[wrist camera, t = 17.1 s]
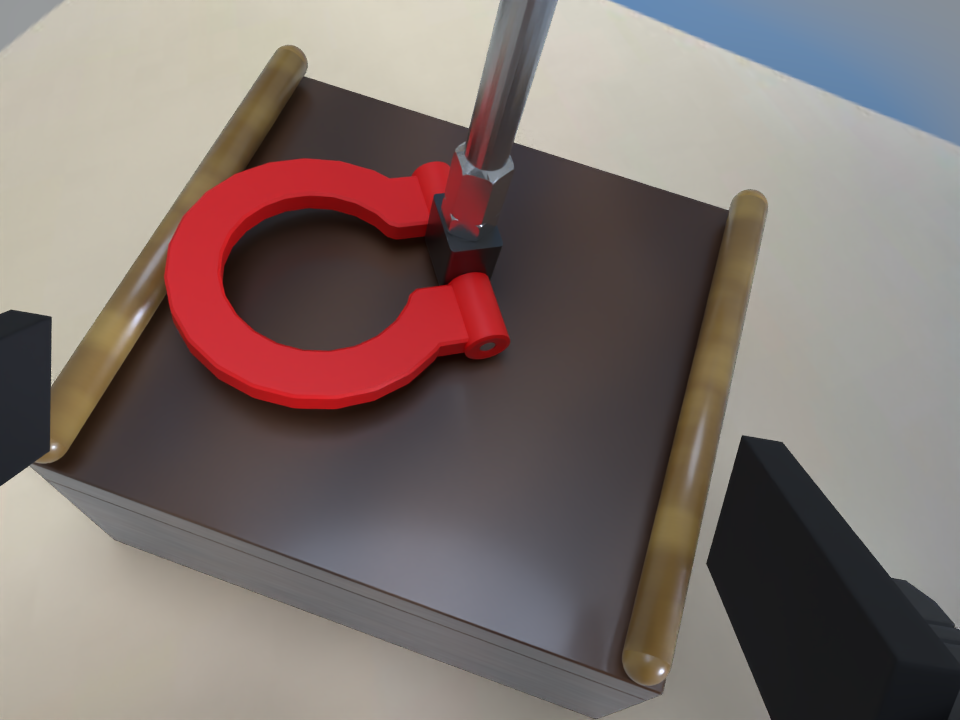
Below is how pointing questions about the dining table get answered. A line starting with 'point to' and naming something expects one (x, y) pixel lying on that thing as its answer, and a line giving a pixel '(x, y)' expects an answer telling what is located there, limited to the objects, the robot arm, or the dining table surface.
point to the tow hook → (397, 214)
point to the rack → (433, 410)
